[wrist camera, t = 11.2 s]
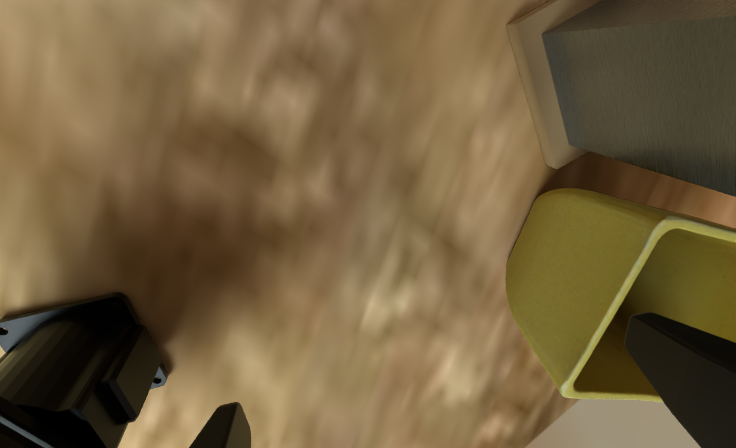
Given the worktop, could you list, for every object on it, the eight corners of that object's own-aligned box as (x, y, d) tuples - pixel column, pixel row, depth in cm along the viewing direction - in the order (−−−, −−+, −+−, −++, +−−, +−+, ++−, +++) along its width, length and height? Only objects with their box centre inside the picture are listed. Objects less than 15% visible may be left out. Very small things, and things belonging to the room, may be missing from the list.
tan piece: (546, 164, 22) (612, 192, 17) (505, 25, 18) (576, 14, 14) (670, 96, 22) (770, 106, 17) (653, -59, 18) (774, -98, 14)
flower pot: (640, 186, 24) (820, 253, 16) (577, 301, 27) (701, 407, 19) (523, 155, 21) (666, 214, 13) (468, 285, 24) (557, 399, 16)
